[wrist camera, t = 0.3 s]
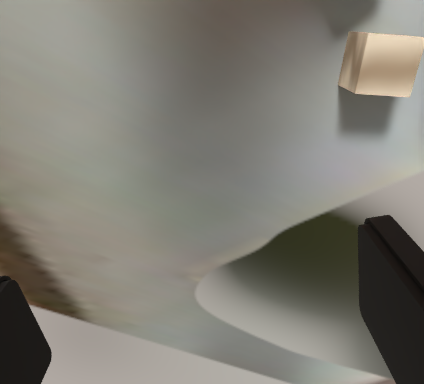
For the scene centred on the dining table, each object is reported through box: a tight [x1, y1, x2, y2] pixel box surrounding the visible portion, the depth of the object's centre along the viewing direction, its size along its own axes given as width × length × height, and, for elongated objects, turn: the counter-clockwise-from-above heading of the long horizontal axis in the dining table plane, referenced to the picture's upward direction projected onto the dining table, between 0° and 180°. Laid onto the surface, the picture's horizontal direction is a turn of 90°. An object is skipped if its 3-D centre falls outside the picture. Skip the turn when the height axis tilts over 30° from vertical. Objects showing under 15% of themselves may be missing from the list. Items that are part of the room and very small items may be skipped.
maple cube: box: [338, 31, 424, 97], centre depth 35 cm, size 5×5×5 cm
